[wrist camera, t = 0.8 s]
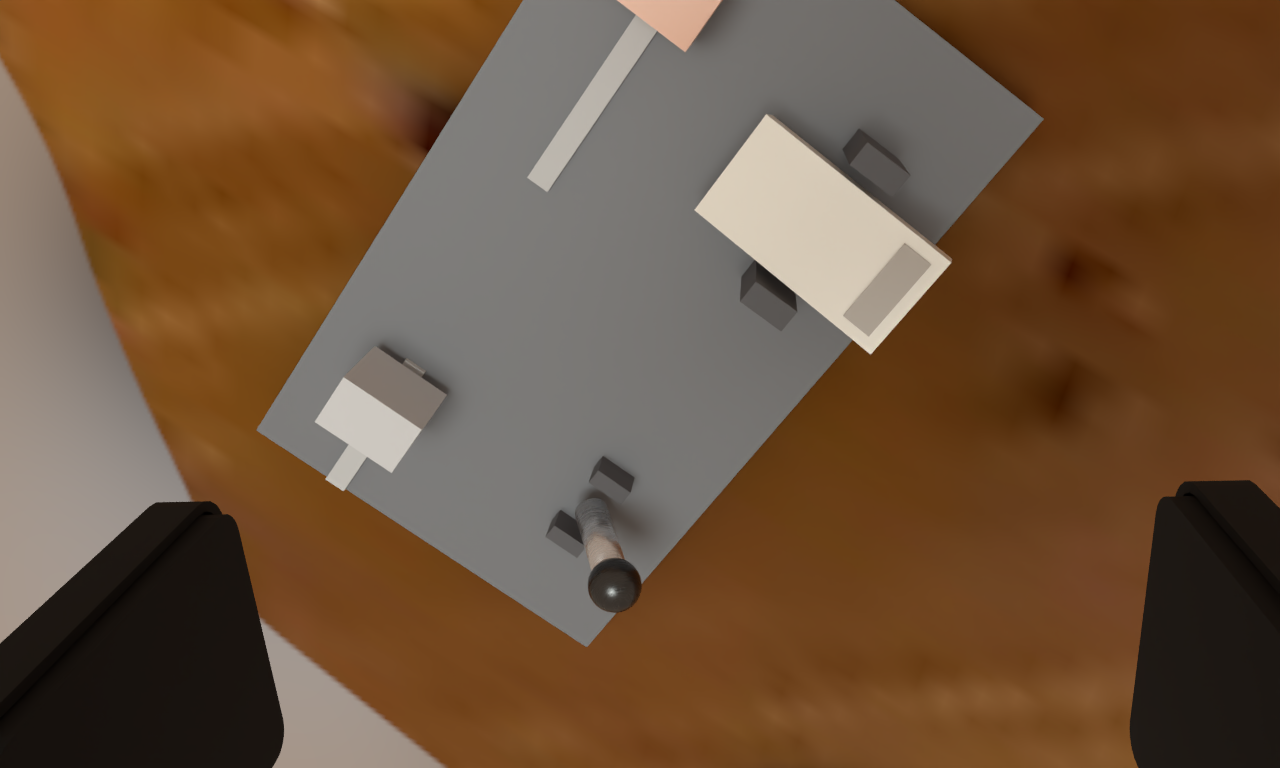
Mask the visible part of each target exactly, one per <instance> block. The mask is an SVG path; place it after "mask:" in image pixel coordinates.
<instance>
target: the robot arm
mask: <svg viewBox="0 0 1280 768" xmlns="http://www.w3.org/2000/svg"><path fill="white" fill-rule="evenodd" d="M283 737H284V724H283V717H282V713H281V709H280V704H279V700H278V696H277V691H276V687H275V683H274V679H273V675H272V670H271V666H270V662H269V658H268V653H267V649H266V645H265V640H264V636H263V632H262V627H261V623H260V619H259V615H258V610H257V606H256V602H255V598H254V593H253V589H252V585H251V581H250V576H249V572H248V568H247V564H246V559H245V555H244V551H243V547H242V542H241V538H240V534H239V530H238V527H237V524H236V522H235V520H234V519H233V517H231V516H230V515H228V514H224V515H222V512H221V511H220V509H219V508H218V506H217V505H216V504H214V503H212V502H211V501H205V502H162V503H159V502H158V503H155V504H153V505H152V506H150V507H149V508H147V509H146V510H145V511H144V512H143V513H142V514H141V515H140V516H139V517H138V518H137V519H135V520H134V521H133V522H132V523H131V524H130V525H129V526H128V527H127V528H126V529H125V530H124V531H122V532H121V533H120V534H119V535H118V536H117V537H116V538H115V539H114V540H113V541H111V542H110V543H109V544H108V545H107V546H106V547H105V548H104V549H103V550H102V551H101V552H100V553H98V554H97V555H96V556H95V557H94V558H93V559H92V560H91V561H90V562H89V563H88V564H86V565H85V566H84V567H83V568H82V569H81V570H80V571H79V572H78V573H77V574H76V575H74V576H73V577H72V578H71V579H70V580H69V581H68V582H67V583H66V584H65V585H64V586H62V587H61V588H60V589H59V590H58V591H57V592H56V593H55V594H54V595H53V596H52V597H51V598H49V599H48V600H47V601H46V602H45V603H44V604H43V605H42V606H41V607H40V608H39V609H38V610H36V611H35V612H34V613H33V614H32V615H31V616H30V617H29V618H28V619H26V620H25V621H24V622H23V623H22V624H21V625H20V626H19V627H18V628H17V629H16V630H15V631H13V632H12V633H11V634H10V635H9V636H8V637H7V638H6V639H5V640H4V641H3V642H1V644H0V768H272V767H273V765H274V764H275V762H276V760H277V758H278V756H279V754H280V751H281V748H282V744H283ZM1130 739H1131V746H1132V751H1133V754H1134V758H1135V760H1136V763H1137V765H1138V767H1139V768H1280V508H1279V507H1278V506H1277V505H1276V504H1275V503H1274V502H1273V501H1272V500H1271V499H1270V498H1269V497H1268V496H1267V495H1266V494H1265V493H1264V492H1263V491H1262V490H1261V489H1260V488H1259V487H1258V486H1257V485H1256V484H1254V483H1253V482H1251V481H1250V480H1240V481H1191V482H1184V483H1183V484H1181V485H1180V487H1179V489H1178V491H1177V493H1176V496H1175V497H1163V498H1162V499H1161V500H1160V502H1159V504H1158V506H1157V511H1156V517H1155V525H1154V533H1153V541H1152V549H1151V557H1150V565H1149V573H1148V581H1147V589H1146V597H1145V605H1144V614H1143V622H1142V630H1141V638H1140V646H1139V654H1138V662H1137V670H1136V678H1135V686H1134V694H1133V702H1132V710H1131V718H1130Z"/></svg>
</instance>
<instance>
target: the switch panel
mask: <svg viewBox="0 0 1280 768" xmlns="http://www.w3.org/2000/svg"><path fill="white" fill-rule="evenodd" d="M766 114H769V115H773V116H774V117H776V118H777V119H778V120H779V121H781V122H782V123H783V124H784V125H786V126H787V127H788V128H789V129H791V130H792V131H793V132H794V133H796V134H797V135H798V136H799V137H801V138H802V139H803V140H804V141H806V142H807V143H808V144H809V145H811V146H812V147H813V148H814V149H816V150H817V151H818V152H819V153H821V154H822V155H823V156H824V157H826V158H827V159H828V160H829V161H831V162H832V163H833V164H834V165H836V166H837V167H838V168H839V169H841V170H842V171H843V172H844V173H846V174H847V175H848V176H849V177H851V178H852V179H853V180H854V181H856V182H857V183H858V184H859V185H861V186H862V187H863V188H864V189H866V190H867V191H868V192H869V193H871V194H872V195H873V196H874V197H876V198H877V199H878V200H879V201H881V202H882V203H883V204H884V205H885V206H887V207H888V208H889V209H890V210H892V211H893V212H894V213H895V214H897V215H898V216H899V217H900V218H902V219H903V220H904V221H905V222H907V223H908V224H909V225H910V226H912V227H913V228H914V229H915V230H917V231H918V232H919V233H920V234H922V235H923V236H924V237H925V238H927V239H928V240H929V241H930V242H932V243H933V244H934V245H935V244H936V243H937V242H938V241H939V239H940V238H941V237H942V236H943V235H944V234H945V233H946V231H947V230H948V229H949V228H950V227H951V226H952V224H953V223H954V222H955V221H956V220H957V219H958V218H959V216H960V215H961V214H962V213H963V212H964V211H965V209H966V208H967V207H968V206H969V205H970V204H971V203H972V201H973V200H974V199H975V198H976V197H977V196H978V194H979V193H980V192H981V191H982V190H983V189H984V187H985V186H986V185H987V184H988V183H989V182H990V181H991V179H992V178H993V177H994V176H995V175H996V174H997V172H998V171H999V170H1000V169H1001V168H1002V167H1003V166H1004V164H1005V163H1006V162H1007V161H1008V160H1009V159H1010V157H1011V156H1012V155H1013V154H1014V153H1015V152H1016V151H1017V149H1018V148H1019V147H1020V146H1021V145H1022V144H1023V142H1024V141H1025V140H1026V139H1027V138H1028V137H1029V136H1030V134H1031V133H1032V132H1033V131H1034V130H1035V129H1036V127H1037V126H1038V125H1039V124H1040V123H1041V122H1042V120H1043V118H1042V117H1041V116H1039V115H1038V114H1037V113H1036V112H1034V111H1033V110H1032V109H1031V108H1029V107H1028V106H1027V105H1026V104H1024V103H1023V102H1022V101H1021V100H1019V99H1018V98H1017V97H1016V96H1014V95H1013V94H1012V93H1011V92H1009V91H1008V90H1007V89H1006V88H1004V87H1003V86H1002V85H1001V84H999V83H998V82H997V81H996V80H994V79H993V78H992V77H990V76H989V75H988V74H987V73H985V72H984V71H983V70H982V69H980V68H979V67H978V66H977V65H975V64H974V63H973V62H972V61H970V60H969V59H968V58H967V57H965V56H964V55H963V54H962V53H960V52H959V51H958V50H957V49H955V48H954V47H953V46H952V45H950V44H949V43H948V42H947V41H945V40H944V39H943V38H941V37H940V36H939V35H938V34H936V33H935V32H934V31H933V30H931V29H930V28H929V27H928V26H926V25H925V24H924V23H923V22H921V21H920V20H919V19H918V18H916V17H915V16H914V15H913V14H911V13H910V12H909V11H908V10H906V9H905V8H904V7H903V6H901V5H900V4H899V3H898V2H896V1H895V0H723V1H722V2H721V4H720V5H719V6H718V8H717V9H716V11H715V12H714V14H713V15H712V16H711V18H710V19H709V21H708V22H707V24H706V25H705V26H704V28H703V29H702V31H701V32H700V34H699V35H698V36H697V38H696V39H695V41H694V42H693V44H692V45H691V46H690V47H689V49H688V50H687V51H686V52H684V51H683V50H682V49H680V48H679V47H678V46H676V45H675V44H674V43H672V42H671V41H670V40H668V39H667V38H666V37H665V36H663V35H662V34H661V33H659V32H658V31H657V30H655V29H654V28H653V27H651V26H650V25H649V24H647V23H646V22H645V21H643V20H642V19H641V18H640V17H638V16H637V15H636V14H634V13H633V12H632V11H630V10H629V9H628V8H626V7H625V6H624V5H622V4H621V3H620V2H619V1H617V0H523V1H522V3H521V5H520V6H519V8H518V9H517V11H516V13H515V14H514V16H513V17H512V19H511V21H510V22H509V24H508V25H507V27H506V29H505V30H504V32H503V34H502V35H501V37H500V38H499V40H498V42H497V43H496V45H495V46H494V48H493V50H492V51H491V53H490V54H489V56H488V58H487V59H486V61H485V63H484V64H483V66H482V67H481V69H480V71H479V72H478V74H477V75H476V77H475V79H474V80H473V82H472V84H471V85H470V87H469V88H468V90H467V92H466V93H465V95H464V96H463V98H462V100H461V101H460V103H459V104H458V106H457V108H456V109H455V111H454V113H453V114H452V116H451V117H450V119H449V121H448V122H447V124H446V125H445V127H444V129H443V130H442V132H441V133H440V135H439V137H438V138H437V140H436V142H435V143H434V145H433V146H432V148H431V150H430V151H429V153H428V154H427V156H426V158H425V159H424V161H423V162H422V164H421V166H420V167H419V169H418V171H417V172H416V174H415V175H414V177H413V179H412V180H411V182H410V183H409V185H408V187H407V188H406V190H405V192H404V193H403V195H402V196H401V198H400V200H399V201H398V203H397V204H396V206H395V208H394V209H393V211H392V212H391V214H390V216H389V217H388V219H387V221H386V222H385V224H384V225H383V227H382V229H381V230H380V232H379V233H378V235H377V237H376V238H375V240H374V241H373V243H372V245H371V246H370V248H369V250H368V251H367V253H366V254H365V256H364V258H363V259H362V261H361V262H360V264H359V266H358V267H357V269H356V271H355V272H354V274H353V275H352V277H351V279H350V280H349V282H348V283H347V285H346V287H345V288H344V290H343V291H342V293H341V295H340V296H339V298H338V300H337V301H336V303H335V304H334V306H333V308H332V309H331V311H330V312H329V314H328V316H327V317H326V319H325V320H324V322H323V324H322V325H321V327H320V329H319V330H318V332H317V333H316V335H315V337H314V338H313V340H312V341H311V343H310V345H309V346H308V348H307V349H306V351H305V353H304V354H303V356H302V358H301V359H300V361H299V362H298V364H297V366H296V367H295V369H294V370H293V372H292V374H291V375H290V377H289V379H288V380H287V382H286V383H285V385H284V387H283V388H282V390H281V391H280V393H279V395H278V396H277V398H276V399H275V401H274V403H273V404H272V406H271V408H270V409H269V411H268V412H267V414H266V416H265V417H264V419H263V420H262V422H261V424H260V425H259V427H258V428H257V431H258V432H260V433H261V434H263V435H264V436H266V437H267V438H269V439H270V440H272V441H273V442H275V443H276V444H278V445H280V446H281V447H283V448H284V449H286V450H287V451H289V452H290V453H292V454H293V455H295V456H296V457H298V458H299V459H301V460H302V461H304V462H305V463H307V464H308V465H310V466H311V467H313V468H315V469H316V470H318V471H319V472H321V473H322V474H324V475H325V476H327V478H326V480H327V481H329V482H330V483H332V484H333V485H335V486H336V487H338V488H339V489H341V490H342V491H344V490H345V489H347V490H348V491H350V492H351V493H353V494H354V495H356V496H357V497H359V498H360V499H362V500H363V501H365V502H366V503H368V504H369V505H371V506H372V507H374V508H375V509H377V510H379V511H380V512H382V513H383V514H385V515H386V516H388V517H389V518H391V519H392V520H394V521H395V522H397V523H398V524H400V525H401V526H403V527H404V528H406V529H407V530H409V531H411V532H412V533H414V534H415V535H417V536H418V537H420V538H421V539H423V540H424V541H426V542H427V543H429V544H430V545H432V546H433V547H435V548H436V549H438V550H439V551H441V552H443V553H444V554H446V555H447V556H449V557H450V558H452V559H453V560H455V561H456V562H458V563H459V564H461V565H462V566H464V567H465V568H467V569H468V570H470V571H471V572H473V573H475V574H476V575H478V576H479V577H481V578H482V579H484V580H485V581H487V582H488V583H490V584H491V585H493V586H494V587H496V588H497V589H499V590H500V591H502V592H503V593H505V594H507V595H508V596H510V597H511V598H513V599H514V600H516V601H517V602H519V603H520V604H522V605H523V606H525V607H526V608H528V609H529V610H531V611H532V612H534V613H535V614H537V615H539V616H540V617H542V618H543V619H545V620H546V621H548V622H549V623H551V624H552V625H554V626H555V627H557V628H558V629H560V630H561V631H563V632H564V633H566V634H567V635H569V636H570V637H572V638H574V639H575V640H577V641H578V642H580V643H581V644H583V645H584V646H586V647H587V646H588V645H589V644H590V643H591V642H592V640H593V639H594V638H595V637H596V636H597V635H598V633H599V632H600V631H601V630H602V629H603V628H604V627H605V625H606V624H607V623H608V622H609V621H610V620H611V618H612V617H613V616H614V615H615V614H616V613H611V612H606V611H604V610H602V609H600V608H599V607H597V606H596V605H595V604H594V603H593V601H592V600H591V598H590V595H589V593H588V578H589V575H590V573H591V568H590V564H589V561H588V557H587V554H586V551H585V547H584V544H583V541H582V537H581V534H580V530H579V527H578V524H577V520H576V517H575V510H576V508H577V506H578V505H579V504H580V503H581V502H583V501H585V500H587V499H591V498H598V499H601V500H603V501H604V502H605V503H606V504H607V507H608V510H609V513H610V516H611V519H612V522H613V525H614V528H615V531H616V534H617V537H618V540H619V543H620V546H621V549H622V552H623V555H624V558H625V560H626V561H628V562H630V563H631V564H632V565H633V566H634V567H635V568H636V569H637V571H638V572H639V575H640V578H641V584H642V583H643V582H644V580H645V579H646V578H647V577H648V576H649V575H650V573H651V572H652V571H653V570H654V569H655V568H656V566H657V565H658V564H659V563H660V562H661V561H662V560H663V558H664V557H665V556H666V555H667V554H668V553H669V551H670V550H671V549H672V548H673V547H674V546H675V545H676V543H677V542H678V541H679V540H680V539H681V538H682V536H683V535H684V534H685V533H686V532H687V531H688V530H689V528H690V527H691V526H692V525H693V524H694V523H695V521H696V520H697V519H698V518H699V517H700V516H701V514H702V513H703V512H704V511H705V510H706V509H707V508H708V506H709V505H710V504H711V503H712V502H713V501H714V499H715V498H716V497H717V496H718V495H719V494H720V493H721V491H722V490H723V489H724V488H725V487H726V486H727V484H728V483H729V482H730V481H731V480H732V479H733V478H734V476H735V475H736V474H737V473H738V472H739V471H740V469H741V468H742V467H743V466H744V465H745V464H746V462H747V461H748V460H749V459H750V458H751V457H752V456H753V454H754V453H755V452H756V451H757V450H758V449H759V447H760V446H761V445H762V444H763V443H764V442H765V441H766V439H767V438H768V437H769V436H770V435H771V434H772V432H773V431H774V430H775V429H776V428H777V427H778V426H779V424H780V423H781V422H782V421H783V420H784V419H785V417H786V416H787V415H788V414H789V413H790V412H791V410H792V409H793V408H794V407H795V406H796V405H797V404H798V402H799V401H800V400H801V399H802V398H803V397H804V395H805V394H806V393H807V392H808V391H809V390H810V389H811V387H812V386H813V385H814V384H815V383H816V382H817V380H818V379H819V378H820V377H821V376H822V375H823V374H824V372H825V371H826V370H827V369H828V368H829V367H830V365H831V364H832V363H833V362H834V361H835V360H836V359H837V357H838V356H839V355H840V354H841V353H842V352H843V350H844V349H845V348H846V347H847V346H848V345H849V343H850V342H851V341H852V339H851V338H850V337H849V336H847V335H846V334H845V333H844V332H843V331H841V330H840V329H839V328H838V327H836V326H835V325H834V324H833V323H832V322H830V321H829V320H828V319H827V318H825V317H824V316H823V315H822V314H821V313H819V312H818V311H817V310H816V309H814V308H813V307H812V306H811V305H810V304H808V303H807V302H806V301H805V300H803V299H802V298H801V297H800V296H799V295H797V294H796V293H795V292H794V291H792V290H791V289H790V288H789V287H788V286H786V285H785V284H784V283H783V282H781V281H780V280H779V279H778V278H777V277H775V276H774V275H773V274H772V273H770V272H769V271H768V270H767V269H766V268H764V267H763V266H762V265H761V264H759V263H758V262H757V261H756V260H755V259H753V258H752V257H751V256H750V255H748V254H747V253H746V252H745V251H744V250H742V249H741V248H740V247H739V246H737V245H736V244H735V243H734V242H733V241H731V240H730V239H729V238H728V237H727V236H725V235H724V234H723V233H722V232H720V231H719V230H718V229H717V228H716V227H714V226H713V225H712V224H711V223H709V222H708V221H707V220H706V219H705V218H703V217H702V216H701V215H700V214H698V213H697V212H696V211H695V209H696V207H697V206H698V205H699V203H700V202H701V201H702V199H703V198H704V197H705V195H706V194H707V193H708V191H709V190H710V189H711V187H712V186H713V185H714V183H715V182H716V181H717V179H718V178H719V177H720V175H721V174H722V173H723V171H724V170H725V169H726V167H727V166H728V165H729V163H730V162H731V161H732V159H733V158H734V157H735V155H736V154H737V153H738V151H739V150H740V149H741V147H742V146H743V145H744V143H745V142H746V141H747V139H748V138H749V137H750V135H751V134H752V133H753V131H754V130H755V129H756V127H757V126H758V125H759V123H760V122H761V121H762V119H763V118H764V117H765V115H766ZM374 346H376V347H377V348H379V349H380V350H382V351H383V352H385V353H386V354H388V355H389V356H391V357H392V358H394V359H395V360H396V361H398V362H399V363H401V364H402V365H404V366H405V367H407V368H408V369H410V370H411V371H413V372H414V373H416V374H417V375H419V376H420V377H421V378H423V379H424V380H426V381H427V382H429V383H430V384H432V385H433V386H435V387H436V388H438V389H439V390H441V391H442V392H443V393H445V394H446V395H447V396H446V397H445V398H444V400H443V401H442V403H441V404H440V406H439V407H438V409H437V410H436V411H435V413H434V414H433V416H432V417H431V419H430V420H429V421H428V423H427V424H426V426H425V427H424V429H423V430H422V431H421V433H420V434H419V436H418V437H417V438H416V440H415V441H414V443H413V444H412V445H411V447H410V448H409V450H408V451H407V452H406V454H405V455H404V456H403V458H402V459H401V461H400V462H399V463H398V465H397V466H396V467H395V469H394V470H393V472H392V473H391V472H389V471H388V470H386V469H385V468H383V467H382V466H380V465H379V464H377V463H376V462H374V461H373V460H371V459H370V458H368V457H367V456H365V455H364V454H362V453H361V452H359V451H358V450H356V449H355V448H353V447H352V446H350V445H349V444H347V443H346V442H344V441H343V440H341V439H340V438H338V437H337V436H335V435H334V434H332V433H330V432H329V431H327V430H326V429H324V428H323V427H321V426H320V425H318V424H317V423H315V421H316V419H317V417H318V416H319V414H320V413H321V411H322V410H323V408H324V407H325V405H326V403H327V402H328V400H329V399H330V397H331V396H332V394H333V393H334V391H335V390H336V388H337V386H338V385H339V383H340V382H341V380H342V379H343V377H344V376H345V375H346V374H347V373H348V372H349V371H350V370H351V369H352V368H353V367H354V366H355V365H356V364H357V363H358V362H359V361H360V360H361V359H362V358H363V357H364V356H365V355H366V354H367V353H368V352H369V351H370V350H371V349H372V348H373V347H374Z"/></svg>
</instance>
